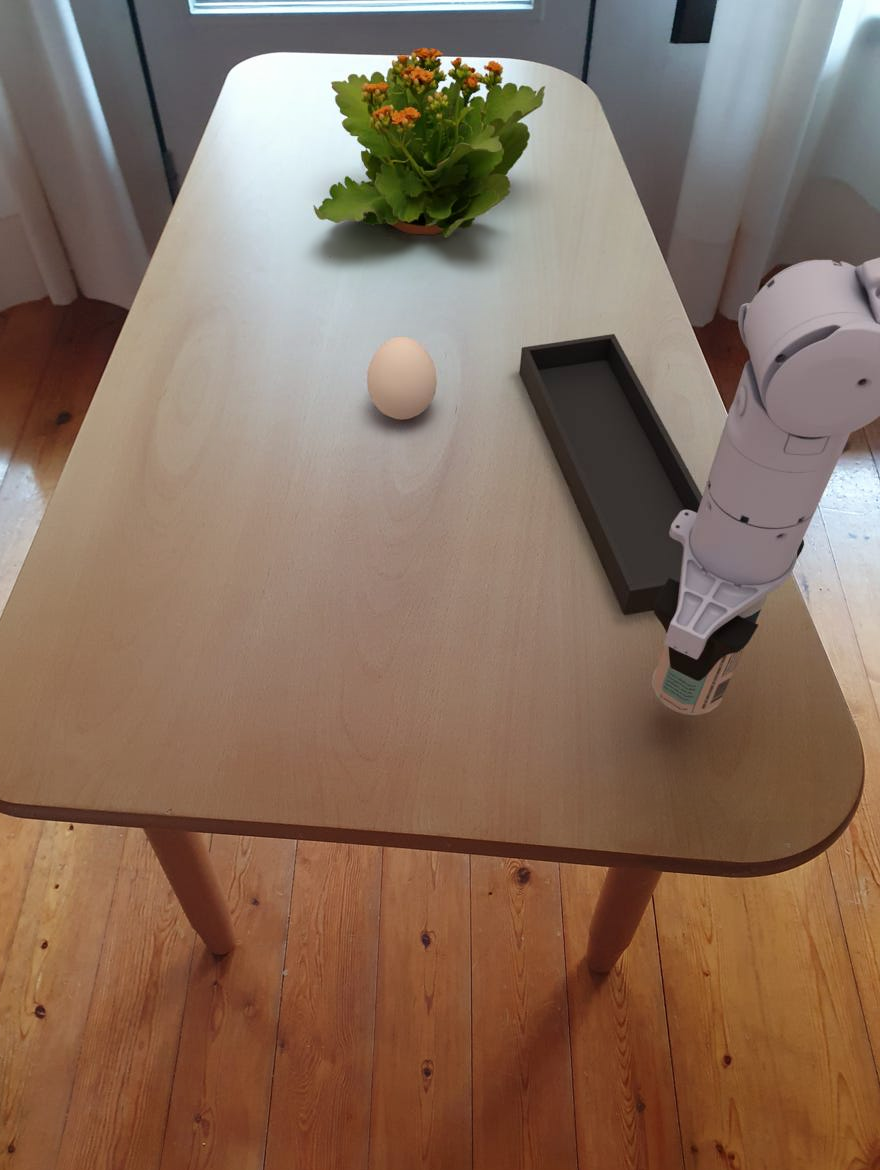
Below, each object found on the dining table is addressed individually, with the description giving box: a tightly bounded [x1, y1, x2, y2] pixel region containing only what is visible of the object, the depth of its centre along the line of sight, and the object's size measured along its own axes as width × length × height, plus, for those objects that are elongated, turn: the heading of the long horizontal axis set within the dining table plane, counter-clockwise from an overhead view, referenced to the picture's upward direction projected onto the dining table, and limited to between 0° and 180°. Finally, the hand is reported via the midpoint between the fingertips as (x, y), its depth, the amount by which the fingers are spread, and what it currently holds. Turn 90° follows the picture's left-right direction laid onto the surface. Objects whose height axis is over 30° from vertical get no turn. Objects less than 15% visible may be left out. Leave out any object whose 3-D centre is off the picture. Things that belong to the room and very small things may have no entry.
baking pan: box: [518, 333, 703, 616], centre depth 85 cm, size 31×9×3 cm, turn 11°
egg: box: [366, 336, 438, 421], centre depth 89 cm, size 6×6×8 cm
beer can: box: [651, 595, 768, 716], centre depth 62 cm, size 5×5×12 cm
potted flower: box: [312, 47, 546, 239], centre depth 106 cm, size 25×24×18 cm
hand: (704, 642), depth 63 cm, fingers closed on beer can, 5 cm apart
